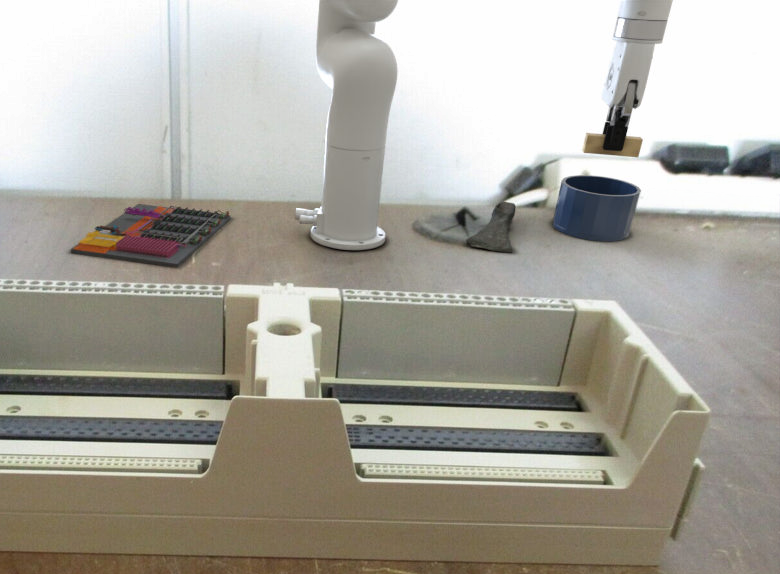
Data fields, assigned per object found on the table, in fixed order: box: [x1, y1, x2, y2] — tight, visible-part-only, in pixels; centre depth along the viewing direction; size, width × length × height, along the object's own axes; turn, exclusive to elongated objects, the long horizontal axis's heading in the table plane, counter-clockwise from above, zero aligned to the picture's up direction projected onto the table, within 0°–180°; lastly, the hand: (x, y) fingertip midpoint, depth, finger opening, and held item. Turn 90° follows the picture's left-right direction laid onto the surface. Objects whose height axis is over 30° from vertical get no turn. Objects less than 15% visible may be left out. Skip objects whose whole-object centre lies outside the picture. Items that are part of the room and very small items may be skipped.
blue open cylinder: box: [552, 174, 642, 242], centre depth 137 cm, size 13×13×8 cm
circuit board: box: [70, 203, 231, 268], centre depth 126 cm, size 25×18×3 cm
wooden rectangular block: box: [581, 132, 644, 158], centre depth 131 cm, size 9×2×3 cm, turn 79°
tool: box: [465, 201, 516, 253], centre depth 134 cm, size 21×8×3 cm, turn 160°
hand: (611, 147), depth 132 cm, fingers closed on wooden rectangular block, 2 cm apart
